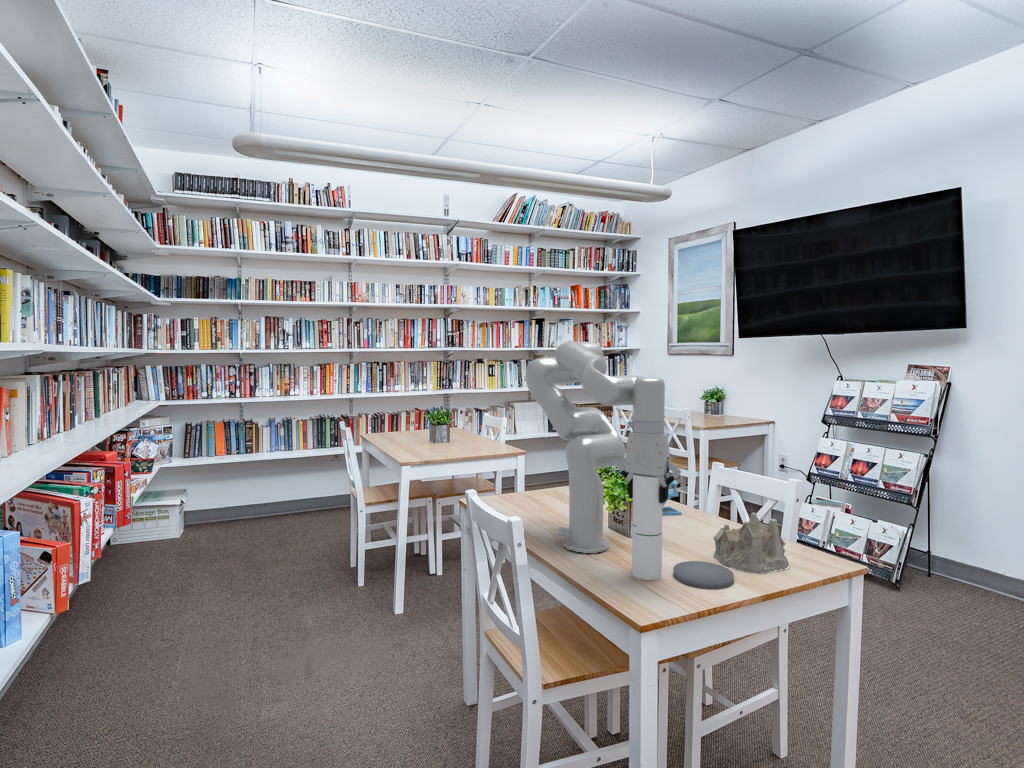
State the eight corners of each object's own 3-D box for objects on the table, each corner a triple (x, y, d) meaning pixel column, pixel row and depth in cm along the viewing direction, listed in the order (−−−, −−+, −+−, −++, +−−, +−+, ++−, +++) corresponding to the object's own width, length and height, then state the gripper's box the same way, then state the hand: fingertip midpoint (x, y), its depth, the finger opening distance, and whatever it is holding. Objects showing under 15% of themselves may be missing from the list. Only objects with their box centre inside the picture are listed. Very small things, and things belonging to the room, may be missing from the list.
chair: (648, 511, 202) (648, 477, 201) (669, 508, 204) (669, 475, 204) (660, 517, 194) (660, 481, 194) (682, 514, 197) (682, 479, 196)
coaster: (664, 580, 140) (665, 574, 140) (683, 563, 151) (683, 557, 151) (724, 593, 132) (724, 587, 132) (739, 574, 143) (740, 568, 143)
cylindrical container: (651, 567, 148) (652, 470, 147) (667, 578, 141) (668, 476, 140) (626, 571, 146) (627, 472, 144) (641, 581, 139) (642, 478, 138)
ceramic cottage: (798, 569, 146) (795, 510, 146) (740, 577, 143) (737, 516, 143) (759, 553, 162) (756, 499, 162) (706, 559, 158) (703, 504, 158)
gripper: (609, 427, 143) (608, 498, 144) (678, 432, 134) (677, 508, 134) (621, 424, 150) (620, 492, 150) (688, 429, 140) (687, 501, 141)
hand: (647, 499), depth 142 cm, fingers closed on cylindrical container, 7 cm apart
